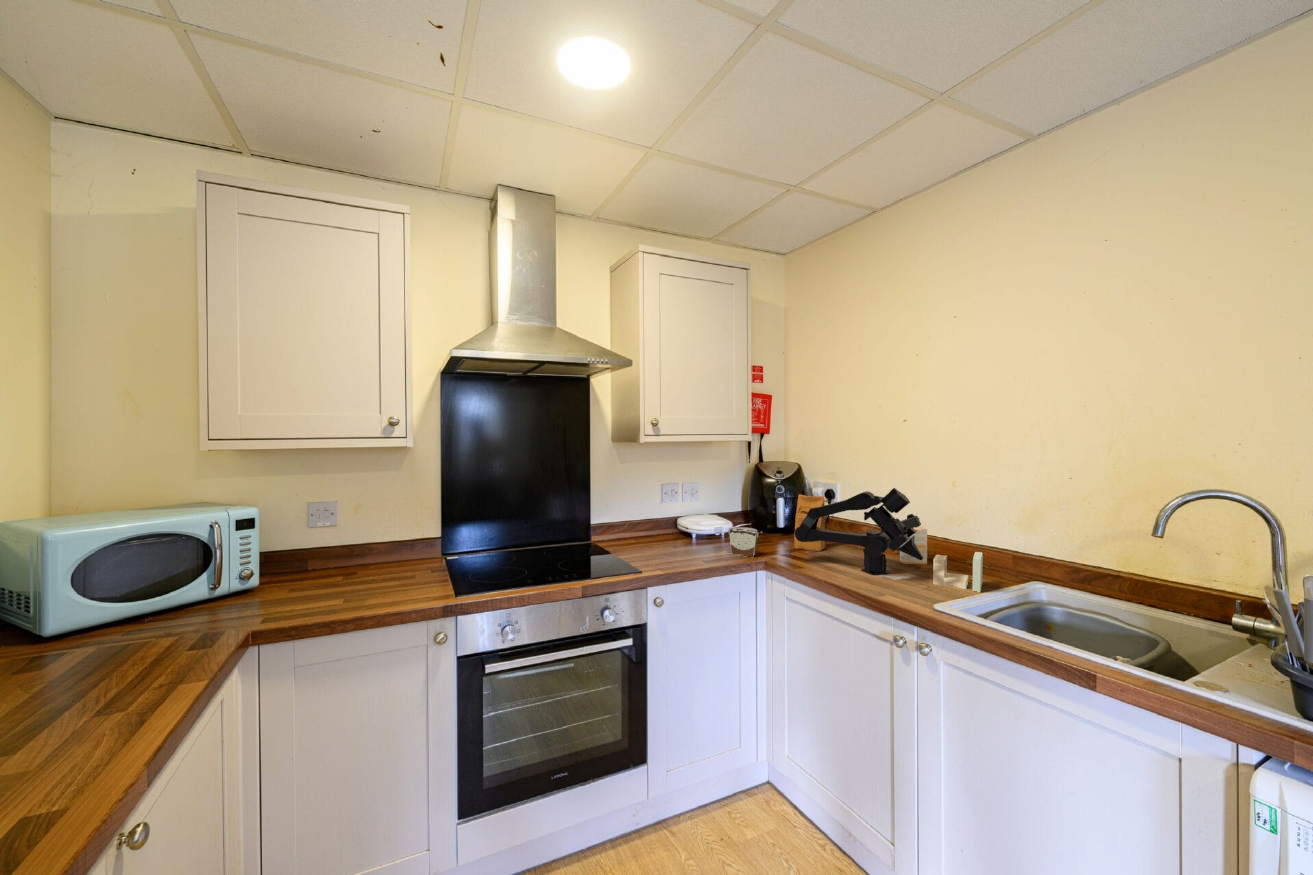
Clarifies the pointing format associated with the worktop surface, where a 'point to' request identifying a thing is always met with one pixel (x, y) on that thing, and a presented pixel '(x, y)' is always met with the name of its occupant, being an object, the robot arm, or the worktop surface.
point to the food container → (743, 540)
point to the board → (977, 571)
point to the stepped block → (947, 574)
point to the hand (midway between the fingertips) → (922, 559)
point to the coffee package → (802, 510)
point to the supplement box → (921, 545)
